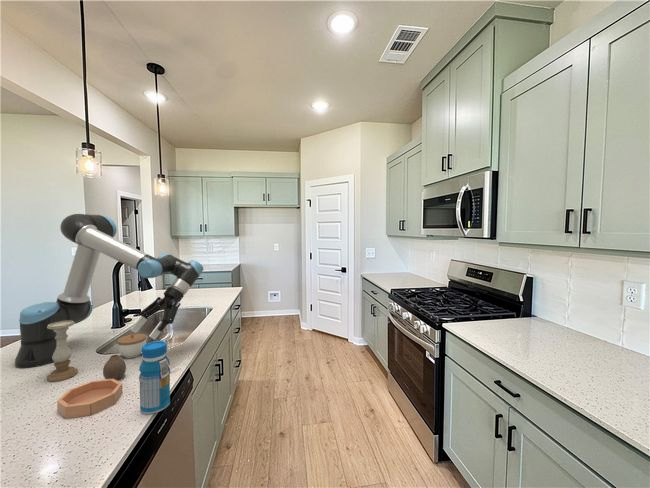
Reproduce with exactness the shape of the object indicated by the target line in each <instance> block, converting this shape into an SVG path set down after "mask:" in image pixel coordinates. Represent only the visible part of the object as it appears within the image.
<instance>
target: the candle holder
mask: <svg viewBox="0 0 650 488" xmlns="http://www.w3.org/2000/svg"><path fill="white" fill-rule="evenodd" d="M74 325H75V324H74V321H60V322H55V323H51V324H49V325H48V326H47V329H54V332H56V337H55V338H54V339H56V341H57V345H56V349H55V351H54V353H53V356H52V359H53V361H54V362H53V366H54V368H55V369H54V370H52V371H51V372H50V373H49V374H48V375H47V376H46V381H48V382H50V383H53V382H60V381H65V380H67V379H70V378H73V377H75V376H76V375H77V374H78V373H79V370H78V368H76V367H74V366H69V365H70V363H71V359H70V358H71V357H72V354H73V353H72V350H71V349H70V348H69V346H68V342H67V339H68V337H69V334H67V331H68V330H69V327H72V326H74Z"/></svg>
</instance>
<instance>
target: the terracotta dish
mask: <svg viewBox="0 0 650 488" xmlns="http://www.w3.org/2000/svg"><path fill="white" fill-rule="evenodd" d="M122 395H123V383H122V382H120V381H119V380H115V379H105V378H104V379H98V380H96V379H95V380H91V381H89V382H86V383H83V384H80V385H78V386H75V387H73V388H70V389H68V390H67V391H66V392H65V393H63V394H62V396H61V397H59V398H58V399H57V400H56V401H57V402H56V404H57V408H56V409H57V410H56V411H57V413H58V414H60V415H61V416H62V417H63V418H64V419H72V418H79V417H81V418H82V417H87V416H92V415H94V414H97V413H98V412H101V411H103V410H105V409H108V408H109V407H112V406H114V405H115V404H116V403H117V402H118V400H119V399H120V398H121V397H122Z"/></svg>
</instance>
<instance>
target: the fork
mask: <svg viewBox="0 0 650 488" xmlns="http://www.w3.org/2000/svg"><path fill="white" fill-rule="evenodd" d="M190 361H191V359H189V358H185V359H184V360H183V361H182V362H180V364H179V365H177V366H175V367H173V368H172V369H170V374H171V373H173V372H175V371H176V370H182V369H183V368H185V367H186V366H188V365H189V363H190Z"/></svg>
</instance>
